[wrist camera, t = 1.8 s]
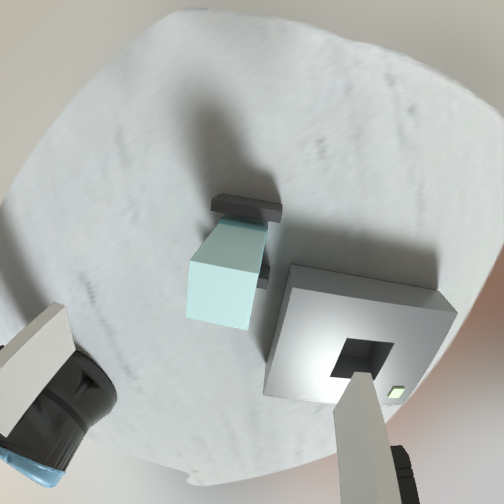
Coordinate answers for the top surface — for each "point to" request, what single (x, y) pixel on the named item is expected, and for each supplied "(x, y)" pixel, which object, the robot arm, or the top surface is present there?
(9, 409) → the robot arm
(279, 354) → the port block
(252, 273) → the plug
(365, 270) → the top surface
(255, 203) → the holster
